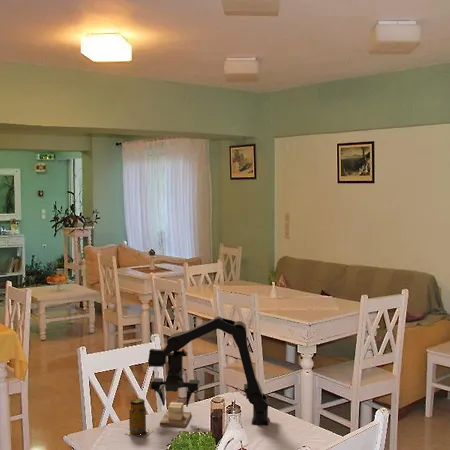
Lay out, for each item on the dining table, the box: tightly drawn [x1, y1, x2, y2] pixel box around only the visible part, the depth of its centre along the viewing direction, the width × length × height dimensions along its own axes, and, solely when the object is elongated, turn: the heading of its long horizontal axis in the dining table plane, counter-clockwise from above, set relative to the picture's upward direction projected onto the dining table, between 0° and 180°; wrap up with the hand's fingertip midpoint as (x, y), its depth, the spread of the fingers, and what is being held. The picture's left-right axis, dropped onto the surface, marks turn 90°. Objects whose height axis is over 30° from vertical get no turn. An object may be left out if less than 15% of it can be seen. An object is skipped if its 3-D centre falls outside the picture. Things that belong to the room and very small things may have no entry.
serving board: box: [159, 410, 192, 428], centre depth 238 cm, size 12×10×1 cm
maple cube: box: [167, 401, 185, 420], centre depth 237 cm, size 5×5×5 cm
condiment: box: [124, 398, 155, 438], centre depth 226 cm, size 7×8×12 cm
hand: (175, 406), depth 237 cm, fingers open, 9 cm apart
